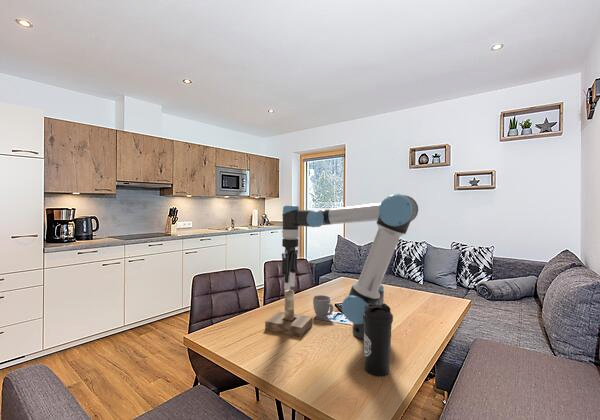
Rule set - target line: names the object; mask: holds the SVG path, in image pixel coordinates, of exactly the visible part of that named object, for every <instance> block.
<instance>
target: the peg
mask: <svg viewBox="0 0 600 420" xmlns="http://www.w3.org/2000/svg"><path fill="white" fill-rule="evenodd" d="M284 312H285V318H284V319H285V321H289V322H293V321H294V314H295V290H294V289H290V290H286V289H284Z"/></svg>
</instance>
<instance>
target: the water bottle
mask: <svg viewBox="0 0 600 420" xmlns="http://www.w3.org/2000/svg"><path fill="white" fill-rule="evenodd" d="M366 306H367V307H368V308H366V309H365V311H364V312H363V320H364V340H363V353H364V354H363V355H364V359H363V360H364V365H363V366H364V371H365V373H367V374H368V375H370V376H374V377H386V376H388V375H389V374H390V365H391V364H390V363H391V362H390V359H391V346H392V345H391V343H392V342H391V341H392V328H393V327H392V325H393V322H394V315H393V313H392V312H391V309H392V308H391V307H390V306H389V305H388V304H386V303H383V304H382V305H376V304H371V303H368V304H366Z"/></svg>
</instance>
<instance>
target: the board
mask: <svg viewBox="0 0 600 420" xmlns="http://www.w3.org/2000/svg"><path fill="white" fill-rule="evenodd" d="M284 318H285V311H279V310H278V311H277V312H276V313H274V314H273V315H271V317H268V318H267V319H266V320H265V321H264V322H265V323H264V327H265V328H264V330H265V331H268V332H275V333H280V334H286V335H290V336H296V337H303V336H304V335H305V334H306V333H307V331H308V330H309V329H310V328H312V326H313V316H311V315H304V314H300V313H299V314H298V313H297V314H296V313H294V321H293V322H289V321H285V319H284Z"/></svg>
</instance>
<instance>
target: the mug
mask: <svg viewBox="0 0 600 420" xmlns="http://www.w3.org/2000/svg"><path fill="white" fill-rule="evenodd" d="M312 299H313V300H312V304H313V305H312V306H313V311H314V314H315V316H316V317H317V318H320V319H325V318H327V317H328V316H330V315H332V313H333V311H334V305H333V304H332V303H331V297H330V296H328V295H323V294H321V295H314V296H313V298H312ZM326 316H327V317H326ZM324 317H325V318H324Z"/></svg>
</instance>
